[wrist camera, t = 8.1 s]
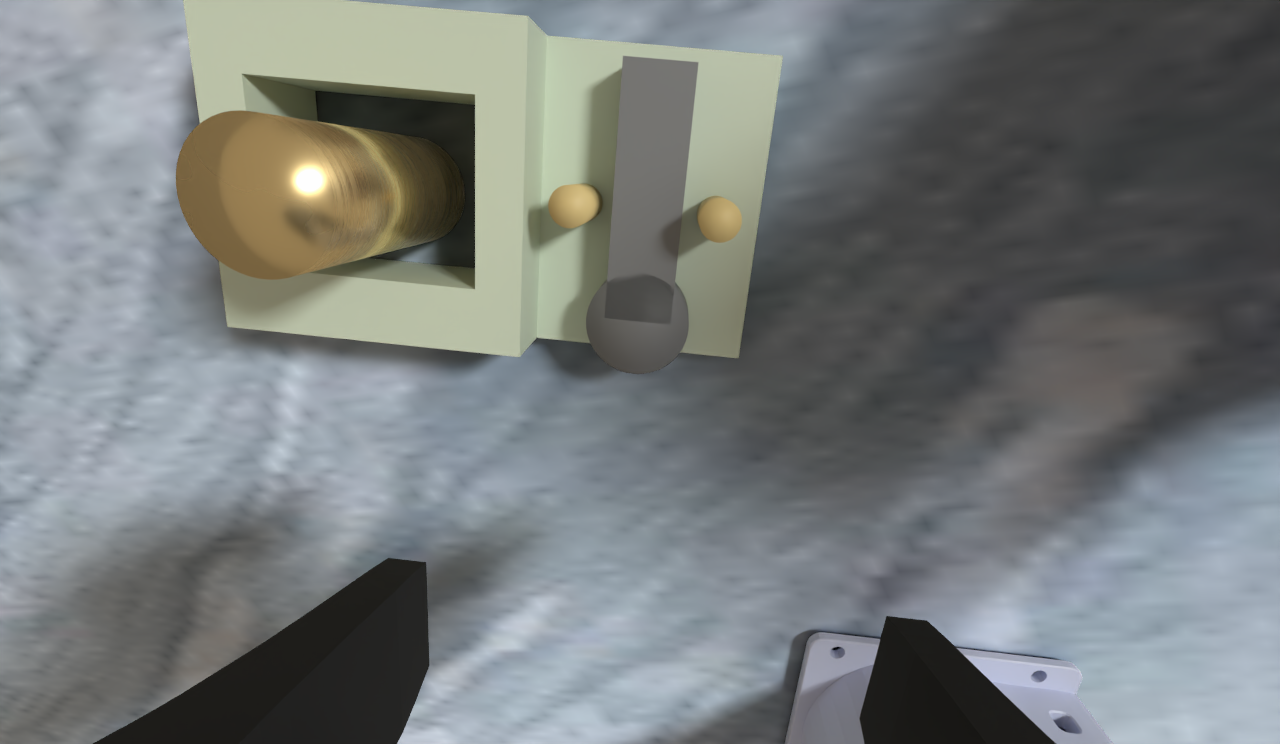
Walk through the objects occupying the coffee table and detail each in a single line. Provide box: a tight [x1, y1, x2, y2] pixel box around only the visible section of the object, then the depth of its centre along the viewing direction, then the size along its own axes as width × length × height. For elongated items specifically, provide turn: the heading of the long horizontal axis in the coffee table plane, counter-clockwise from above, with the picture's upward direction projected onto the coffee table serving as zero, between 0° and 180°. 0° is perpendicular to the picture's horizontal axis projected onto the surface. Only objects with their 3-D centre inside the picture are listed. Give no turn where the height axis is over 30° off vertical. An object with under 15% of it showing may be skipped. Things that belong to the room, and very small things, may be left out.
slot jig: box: [183, 0, 783, 374], centre depth 16 cm, size 14×8×3 cm, turn 85°
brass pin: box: [176, 110, 465, 280], centre depth 14 cm, size 3×3×7 cm
